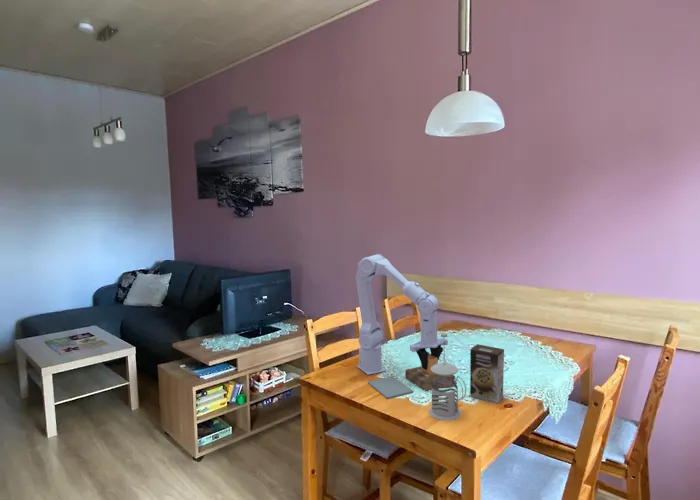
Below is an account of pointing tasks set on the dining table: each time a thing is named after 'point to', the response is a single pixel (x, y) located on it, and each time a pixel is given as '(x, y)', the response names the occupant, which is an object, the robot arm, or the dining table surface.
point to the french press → (445, 391)
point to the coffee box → (486, 373)
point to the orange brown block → (430, 365)
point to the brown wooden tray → (422, 378)
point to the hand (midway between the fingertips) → (429, 367)
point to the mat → (390, 387)
